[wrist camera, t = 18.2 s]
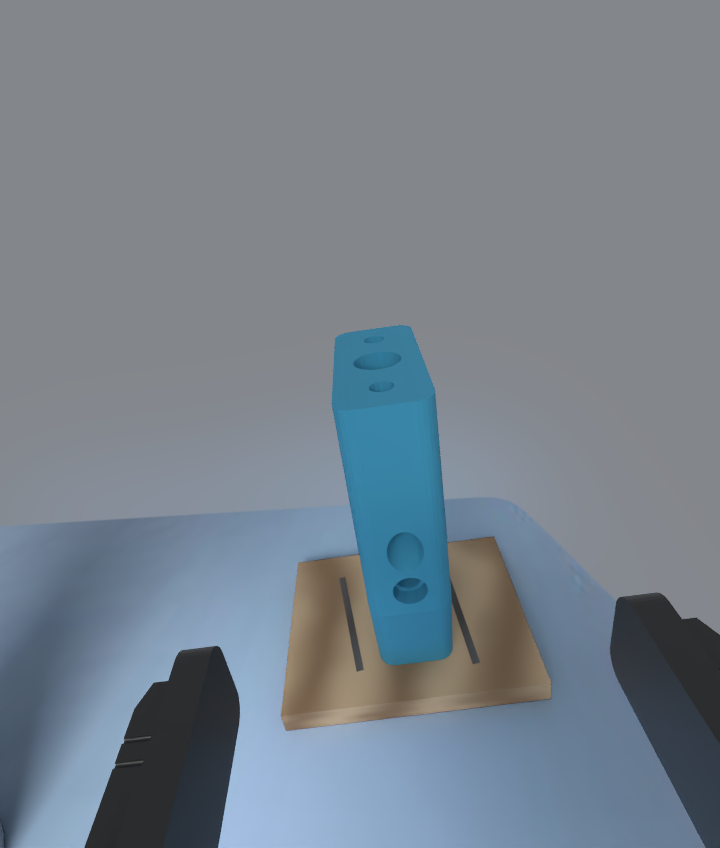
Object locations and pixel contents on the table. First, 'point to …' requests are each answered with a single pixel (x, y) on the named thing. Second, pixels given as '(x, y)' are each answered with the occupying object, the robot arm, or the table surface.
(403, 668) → the oak board
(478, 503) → the table surface
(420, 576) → the block
